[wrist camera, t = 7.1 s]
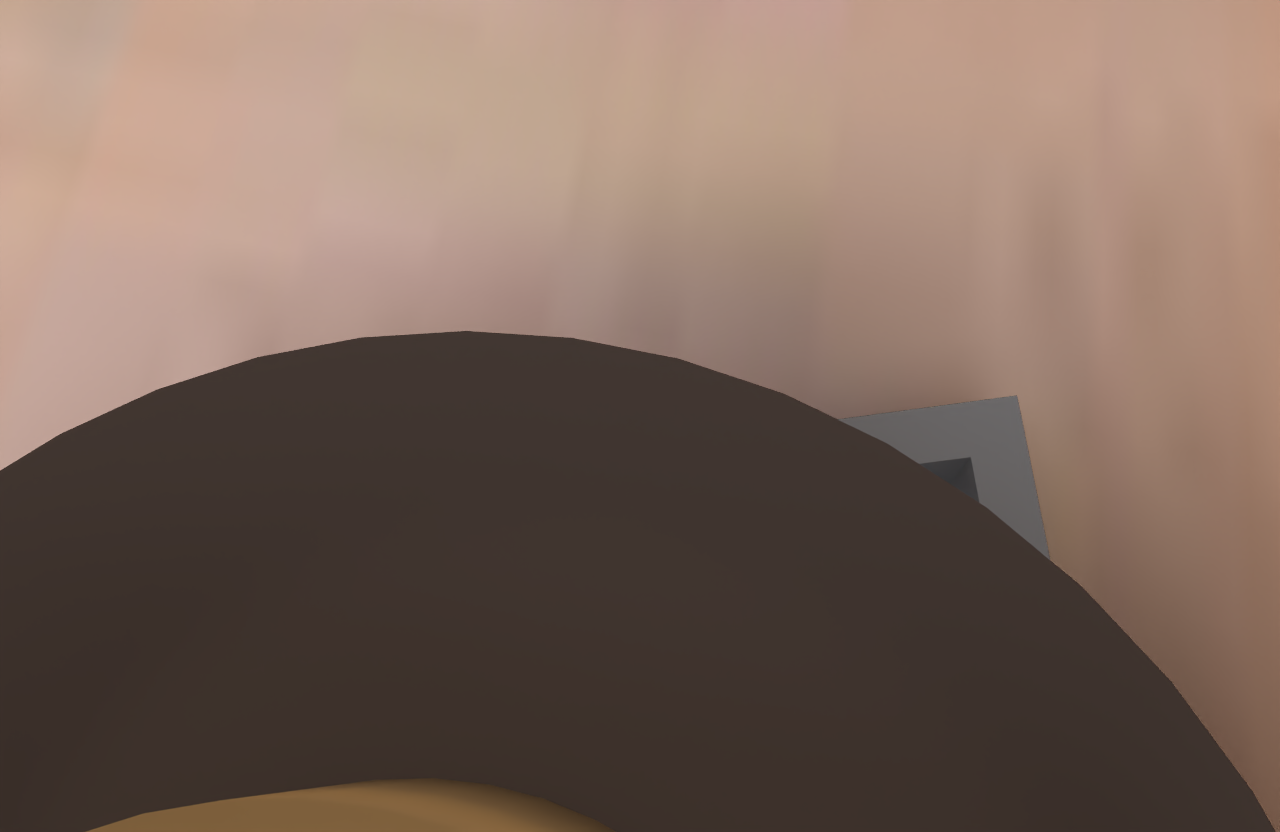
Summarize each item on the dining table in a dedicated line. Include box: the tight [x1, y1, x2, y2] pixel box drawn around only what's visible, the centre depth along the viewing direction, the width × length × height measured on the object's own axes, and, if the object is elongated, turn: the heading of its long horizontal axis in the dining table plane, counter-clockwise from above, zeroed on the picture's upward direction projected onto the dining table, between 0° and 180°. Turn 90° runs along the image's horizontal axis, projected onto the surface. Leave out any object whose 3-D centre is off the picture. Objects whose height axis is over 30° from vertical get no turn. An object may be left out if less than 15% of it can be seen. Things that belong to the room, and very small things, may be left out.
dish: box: [837, 396, 1050, 560], centre depth 18 cm, size 11×11×4 cm
